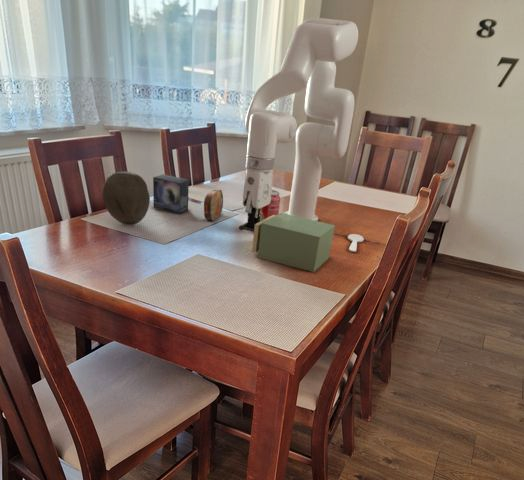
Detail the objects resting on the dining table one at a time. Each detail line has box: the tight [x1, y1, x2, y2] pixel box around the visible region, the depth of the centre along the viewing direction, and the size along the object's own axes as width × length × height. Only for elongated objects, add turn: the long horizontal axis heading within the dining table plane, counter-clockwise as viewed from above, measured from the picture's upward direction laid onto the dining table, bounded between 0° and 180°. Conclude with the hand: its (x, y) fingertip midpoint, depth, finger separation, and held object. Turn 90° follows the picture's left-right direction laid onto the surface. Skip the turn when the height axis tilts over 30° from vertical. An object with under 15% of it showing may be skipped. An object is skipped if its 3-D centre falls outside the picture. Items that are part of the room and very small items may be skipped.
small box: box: [152, 173, 190, 215], centre depth 163 cm, size 11×6×10 cm, turn 68°
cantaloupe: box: [102, 171, 151, 226], centre depth 144 cm, size 14×14×15 cm
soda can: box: [259, 189, 281, 221], centre depth 151 cm, size 7×7×13 cm
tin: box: [203, 189, 224, 222], centre depth 161 cm, size 15×3×8 cm, turn 168°
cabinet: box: [257, 212, 336, 273], centre depth 135 cm, size 17×14×10 cm
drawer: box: [238, 215, 276, 253], centre depth 137 cm, size 22×13×8 cm, turn 65°
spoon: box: [347, 233, 365, 253], centre depth 155 cm, size 5×18×1 cm, turn 166°
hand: (252, 229), depth 139 cm, fingers closed
